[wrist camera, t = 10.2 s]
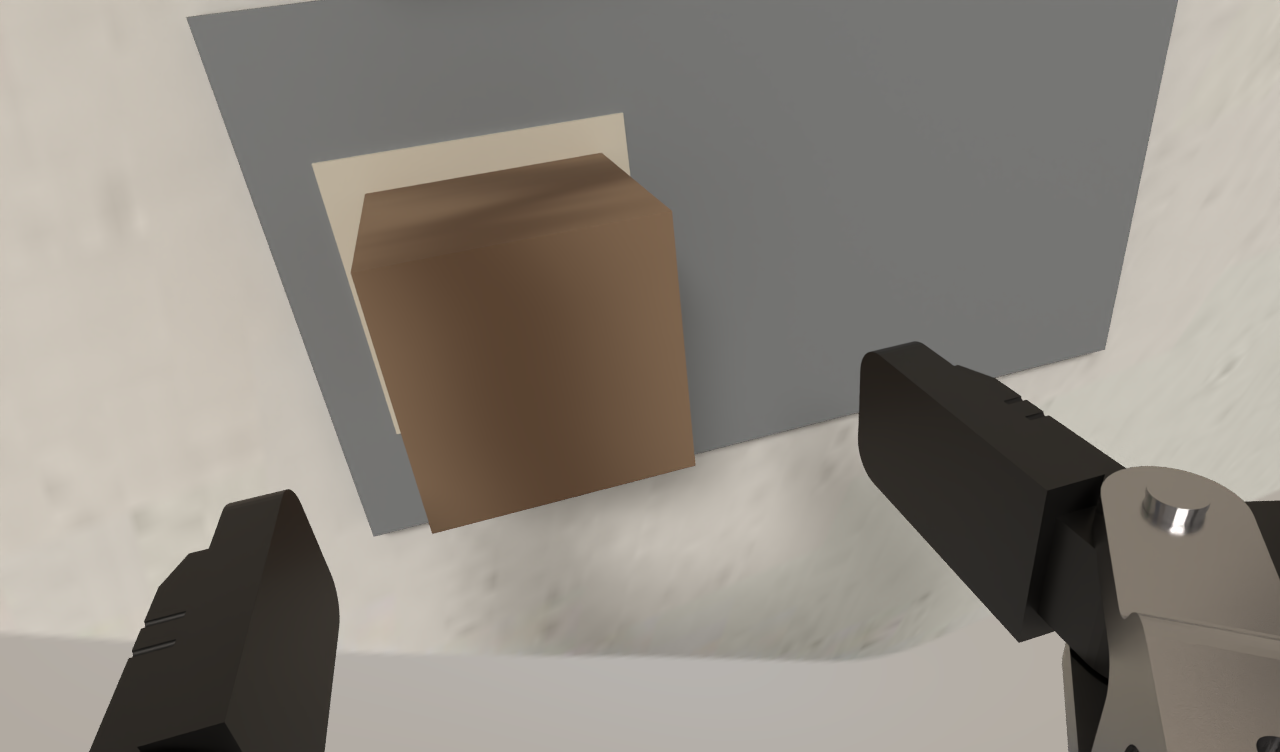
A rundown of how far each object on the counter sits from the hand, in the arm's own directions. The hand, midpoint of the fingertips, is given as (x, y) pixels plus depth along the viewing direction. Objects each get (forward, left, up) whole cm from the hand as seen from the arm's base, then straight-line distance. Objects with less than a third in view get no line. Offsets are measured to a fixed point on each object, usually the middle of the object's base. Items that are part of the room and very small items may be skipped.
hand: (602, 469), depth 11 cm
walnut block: (0, 0, -8) cm, 8 cm away
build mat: (-6, 0, -8) cm, 10 cm away
